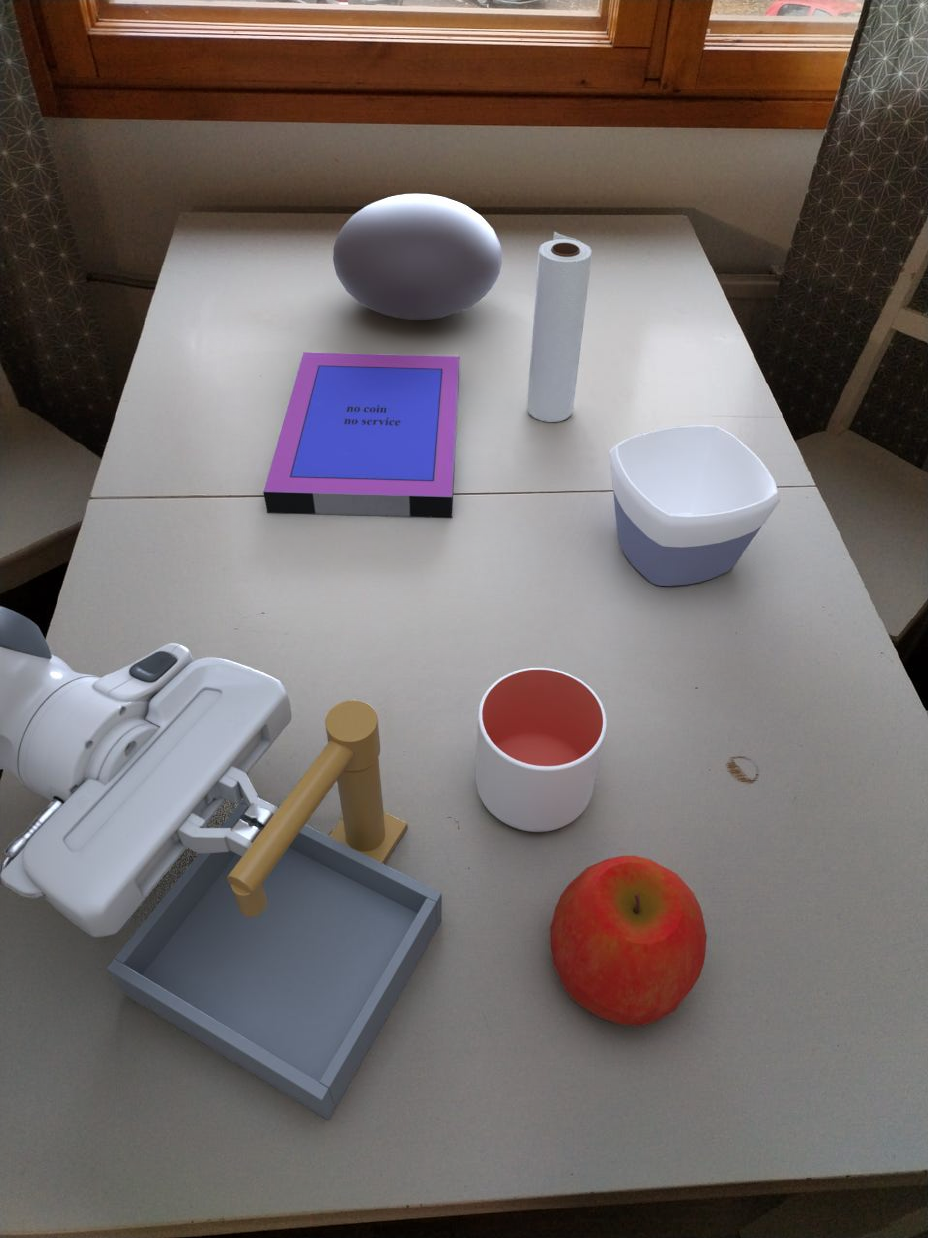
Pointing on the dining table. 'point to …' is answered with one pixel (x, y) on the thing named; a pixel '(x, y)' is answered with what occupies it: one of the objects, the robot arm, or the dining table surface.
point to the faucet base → (366, 815)
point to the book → (368, 437)
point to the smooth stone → (417, 256)
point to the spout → (306, 798)
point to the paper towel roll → (557, 327)
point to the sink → (284, 961)
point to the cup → (538, 748)
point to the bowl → (688, 501)
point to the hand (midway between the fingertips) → (266, 834)
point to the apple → (628, 940)
